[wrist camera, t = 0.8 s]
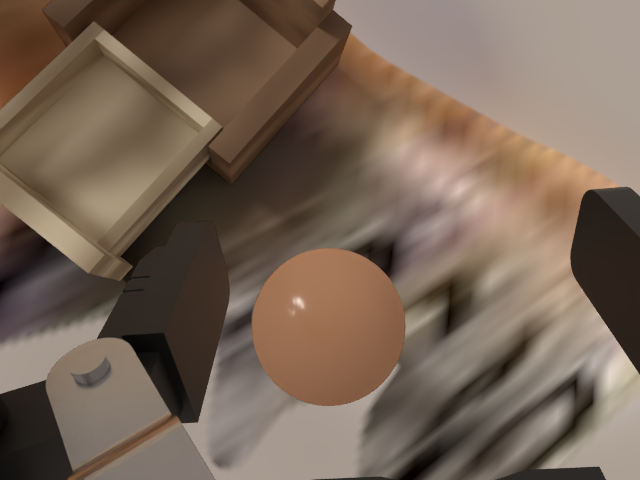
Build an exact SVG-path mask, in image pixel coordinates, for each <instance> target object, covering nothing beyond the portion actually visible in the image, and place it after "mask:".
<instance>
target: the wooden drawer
mask: <svg viewBox="0 0 640 480" xmlns="http://www.w3.org/2000/svg"><path fill="white" fill-rule="evenodd" d="M222 130H223V127H222V126H221V125H220V124H219V123H217V122H216V121H215V120H214V119H213V118H211V117H210V116H209V115H208V114H207V113H205V112H204V111H203V110H202V109H200V108H199V107H198V106H197V105H196V104H194V103H193V102H192V101H191V100H189V99H188V98H187V97H186V96H185V95H183V94H182V93H181V92H180V91H178V90H177V89H176V88H175V87H174V86H172V85H171V84H170V83H169V82H167V81H166V80H165V79H164V78H163V77H161V76H160V75H159V74H158V73H156V72H155V71H154V70H153V69H152V68H150V67H149V66H148V65H147V64H146V63H144V62H143V61H142V60H141V59H139V58H138V57H137V56H136V55H135V54H133V53H132V52H131V51H130V50H128V49H127V48H126V47H125V46H124V45H122V44H121V43H120V42H119V41H117V40H116V39H115V38H114V37H113V36H111V35H110V34H109V33H108V32H106V31H105V30H104V29H103V28H102V27H100V26H99V25H98V24H97V23H95V22H93V23H92V24H91V25H89V26H88V27H87V28H86V29H85V30H84V31H83V32H82V33H81V34H80V35H79V36H78V37H77V38H76V39H75V40H74V41H73V42H72V43H70V44H69V45H68V46H67V47H66V48H65V49H64V50H63V51H62V52H61V53H60V54H59V55H58V56H57V57H56V58H55V59H54V60H53V61H51V62H50V63H49V64H48V65H47V66H46V67H45V68H44V69H43V70H42V71H41V72H40V73H39V74H38V75H37V76H36V77H35V78H34V79H32V80H31V81H30V82H29V83H28V84H27V85H26V86H25V87H24V88H23V89H22V90H21V91H20V92H19V93H18V94H17V95H16V96H15V97H13V98H12V99H11V100H10V101H9V102H8V103H7V104H6V105H5V106H4V107H3V108H2V109H1V110H0V203H1V204H2V205H4V206H5V207H6V208H7V209H9V210H10V211H11V212H12V213H14V214H15V215H16V216H17V217H19V218H20V219H21V220H22V221H24V222H25V223H26V224H27V225H29V226H30V227H31V228H32V229H34V230H35V231H36V232H37V233H39V234H40V235H41V236H42V237H43V238H45V239H46V240H47V241H48V242H50V243H51V244H52V245H53V246H55V247H56V248H57V249H58V250H60V251H61V252H62V253H63V254H65V255H66V256H67V257H68V258H70V259H71V260H72V261H73V262H75V263H76V264H77V265H78V266H80V267H81V268H82V269H83V270H85V271H86V272H87V273H89V274H93V275H97V276H102V277H106V278H110V279H114V280H118V281H120V280H121V279H122V278H123V277H124V276H125V275H126V274H127V273H128V271H129V270H130V269H131V268H132V267H133V266H132V265H130V264H129V263H128V262H127V261H125V260H124V259H123V258H122V257H121V255H122V254H123V253H124V252H125V251H126V250H127V249H128V248H129V246H130V245H131V244H132V243H133V242H134V241H135V240H136V239H137V238H138V236H139V235H140V234H141V233H142V232H143V231H144V230H145V229H146V228H147V227H148V225H149V224H150V223H151V222H152V221H153V220H154V219H155V218H156V217H157V216H158V214H159V213H160V212H161V211H162V210H163V209H164V208H165V207H166V206H167V205H168V203H169V202H170V201H171V200H172V199H173V198H174V197H175V196H176V195H177V194H178V192H179V191H180V190H181V189H182V188H183V187H184V186H185V185H186V184H187V183H188V181H189V180H190V179H191V178H192V177H193V176H194V175H195V174H196V173H197V172H198V170H199V169H200V168H201V167H202V166H203V165H204V164H205V163H206V162H207V160H208V159H209V158H210V152H209V147H208V146H209V145H210V144H211V142H212V141H213V140H214V139H215V138H216V137H217V136H218V135H219V134H220V133H221V132H222Z"/></svg>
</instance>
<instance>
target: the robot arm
mask: <svg viewBox="0 0 640 480" xmlns="http://www.w3.org/2000/svg"><path fill="white" fill-rule="evenodd" d="M570 259H571V268H572V272H573V275H574V277H575V279H576V281H577V282H578V283H579V285H580V286H581V288H582V289H583V291H584V292H585V294H586V295H587V297H588V298H589V300H590V301H591V303H592V304H593V306H594V307H595V309H596V310H597V312H598V313H599V315H600V316H601V318H602V319H603V321H604V322H605V323H606V325H607V326H608V328H609V329H610V331H611V332H612V334H613V335H614V337H615V338H616V340H617V341H618V343H619V344H620V346H621V347H622V349H623V350H624V352H625V353H626V355H627V356H628V358H629V359H630V361H631V362H632V363H633V365H634V366H635V368H636V369H637V371H638V372H639V374H640V196H639V195H638V194H637V193H635V192H634V191H633V190H632V189H631V188H629V187H618V188H606V189H594V190H588V191H587V192H586V193H585V194H584V196H583V198H582V201H581V205H580V210H579V215H578V220H577V224H576V229H575V234H574V239H573V243H572V248H571V256H570ZM130 278H131V280H129V281H128V283H127V284H126V286H125V288H124V290H123V294H121V295H120V297H119V299H118V301H117V303H116V305H115V306H114V308H113V310H112V312H111V314H110V316H109V317H108V319H107V321H106V323H105V325H104V327H103V329H102V330H101V332H100V334H99V336H98V338H97V339H96V340H92V341H89V342H86V343H84V344H82V345H80V346H78V347H76V348H74V349H73V350H71V351H70V352H68V353H67V354H65V355H64V356H63V357H62V358H61V359H59V360H58V361H57V362H56V364H55V365H54V366H53V367H52V369H51V371H50V372H49V374H48V377H47V379H46V380H45V381H42V382H39V383H35V384H32V385H29V386H25V387H22V388H19V389H16V390H12V391H9V392H6V393H3V394H0V480H215V478H214V476H213V475H212V473H211V472H210V470H209V468H208V466H207V465H206V463H205V461H204V460H203V458H202V457H201V455H200V453H199V452H198V450H197V448H196V446H195V445H194V443H193V441H192V440H191V438H190V436H189V435H188V433H187V431H186V430H185V428H184V426H183V425H182V423H194V422H198V420H199V416H200V412H201V408H202V404H203V400H204V396H205V393H206V389H207V385H208V381H209V377H210V373H211V369H212V366H213V361H214V358H215V354H216V350H217V346H218V342H219V338H220V334H221V331H222V327H223V323H224V319H225V315H226V311H227V307H228V303H229V294H230V290H229V279H228V274H227V270H226V266H225V263H224V259H223V255H222V251H221V247H220V243H219V240H218V236H217V232H216V228H215V226H214V224H213V222H212V221H198V222H186V223H178V224H176V225H175V227H174V229H173V231H172V233H171V235H170V237H169V239H168V241H167V243H166V246H161V247H155V248H154V249H153V250H152V251H150V252H149V253H148V254H147V255H146V256H145V257H144V258H142V259H141V260H140V261H139V262H138V264H137V266H136V268H135V270H134V272H133V273H132V275H131V277H130ZM317 480H394V479H389V478H384V477H360V478H340V479H317ZM497 480H606V479H605V477H604V475H603V473H602V471H601V469H600V467H582V468H559V469H537V470H525V471H522V472H519V473H515V474H512V475H509V476H506V477H503V478H500V479H497Z"/></svg>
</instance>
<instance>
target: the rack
mask: <svg viewBox="0 0 640 480" xmlns="http://www.w3.org/2000/svg"><path fill="white" fill-rule="evenodd" d="M335 1H336V0H52V1H51V2H49V3H48V4H47V5H46V6H45V7H44V8H43V9H42V11H43V13H44V14H45V16H46V17H47V19H48V20H49V22H50V23H51V25H52V26H53V28H54V29H55V31H56V32H57V34H58V35H59V37H60V38H61V40H62V41H63V43H64V44H65V46H66V47H67V46H68V45H69V44H70V43H72V42H73V41H74V40H75V39H76V38H77V37H78V36H79V35H80V34H81V33H82V32H83V31H84V30H85V29H86V28H87V27H88V26H89V25H91V24H92V23H93V22H95V23H97V24H98V25H99V26H100V27H102V28H103V29H104V30H105V31H106V32H108V33H109V34H110V35H111V36H113V37H114V38H115V39H116V40H117V41H119V42H120V43H121V44H122V45H124V46H125V47H126V48H127V49H128V50H130V51H131V52H132V53H133V54H135V55H136V56H137V57H138V58H139V59H141V60H142V61H143V62H144V63H146V64H147V65H148V66H149V67H150V68H152V69H153V70H154V71H155V72H156V73H158V74H159V75H160V76H161V77H163V78H164V79H165V80H166V81H167V82H169V83H170V84H171V85H172V86H174V87H175V88H176V89H177V90H178V91H180V92H181V93H182V94H183V95H185V96H186V97H187V98H188V99H189V100H191V101H192V102H193V103H194V104H196V105H197V106H198V107H199V108H200V109H202V110H203V111H204V112H205V113H207V114H208V115H209V116H210V117H211V118H213V119H214V120H215V121H216V122H217V123H219V124H220V125H221V126H222V127H223V130H222V132H221V133H220V134H219V135H218V136H217V137H216V138H215V139H214V140H213V141H212V142H211V144H210V145H209V146H208V147H209V152H210V158H209V159H208V160H207V162H206V164H207V165H208V166H209V167H210V168H212V169H213V170H214V171H215V172H217V173H218V174H219V175H220V176H221V177H223V178H224V179H225V180H226V181H228V182H229V183H230V184H231V185H232V184H233V183H234V181H235V180H236V179H237V178H238V177H239V176H240V175H241V173H242V172H243V171H244V170H245V169H246V168H247V167H248V165H249V164H250V163H251V162H252V161H253V160H254V159H255V158H256V156H257V155H258V154H259V153H260V152H261V151H262V150H263V148H264V147H265V146H266V145H267V144H268V143H269V142H270V141H271V139H272V138H273V137H274V136H275V135H276V134H277V133H278V131H279V130H280V129H281V128H282V127H283V126H284V125H285V124H286V122H287V121H288V120H289V119H290V118H291V117H292V116H293V114H294V113H295V112H296V111H297V110H298V109H299V108H300V107H301V105H302V104H303V103H304V102H305V101H306V100H307V99H308V97H309V96H310V95H311V94H312V93H313V92H314V91H315V90H316V88H317V87H318V86H319V85H320V84H321V83H322V82H323V80H324V79H325V78H326V77H327V76H328V75H329V74H330V73H331V71H332V70H333V69H334V68H335V67H336V66H337V65H338V62H339V60H340V57H341V54H342V52H343V49H344V46H345V44H346V41H347V39H348V36H349V33H350V31H351V28H352V25H350V24H349V23H348V22H347V21H345V20H344V19H343V18H342V17H341V16H339V15H338V14H337V13H336V12H335V11H333V7H334V4H335Z"/></svg>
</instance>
